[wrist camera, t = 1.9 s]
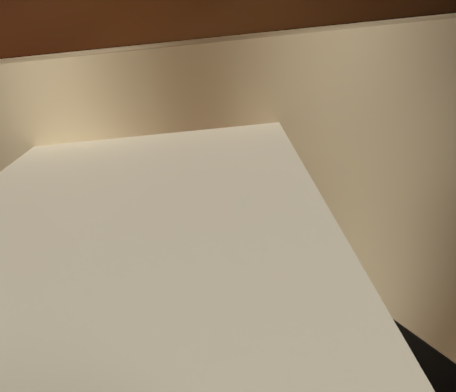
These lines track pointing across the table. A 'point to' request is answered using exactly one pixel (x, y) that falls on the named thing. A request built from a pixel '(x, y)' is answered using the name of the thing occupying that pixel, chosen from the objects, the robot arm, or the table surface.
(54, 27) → the table surface
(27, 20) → the table surface
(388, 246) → the flat beige panel
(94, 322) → the carton
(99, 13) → the table surface
